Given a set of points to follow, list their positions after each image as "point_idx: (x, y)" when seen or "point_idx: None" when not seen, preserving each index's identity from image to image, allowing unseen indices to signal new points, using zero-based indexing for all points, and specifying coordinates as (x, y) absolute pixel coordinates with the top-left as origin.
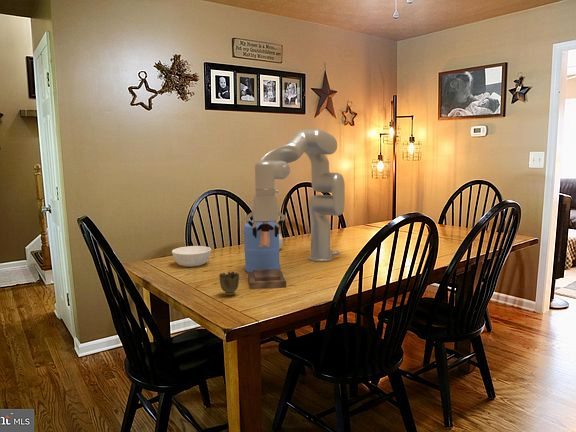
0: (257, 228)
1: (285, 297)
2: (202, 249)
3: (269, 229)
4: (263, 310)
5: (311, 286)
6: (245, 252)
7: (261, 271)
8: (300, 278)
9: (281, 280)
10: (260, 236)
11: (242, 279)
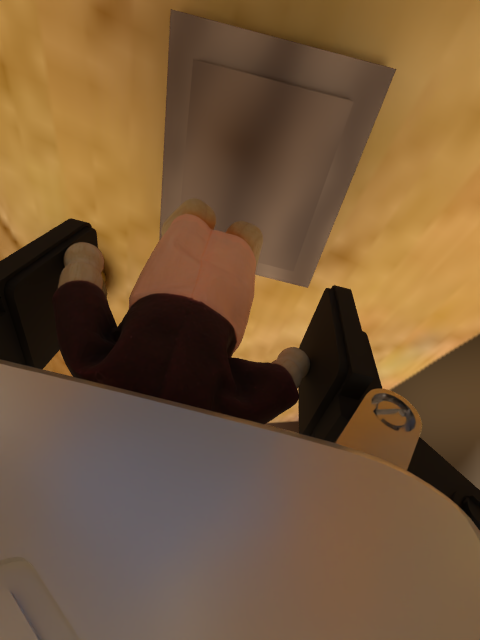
0: (53, 309)
1: (258, 355)
2: None
3: (236, 365)
4: None
5: (403, 302)
6: None
7: (234, 135)
8: (455, 167)
9: (294, 271)
10: (146, 266)
11: (145, 38)
